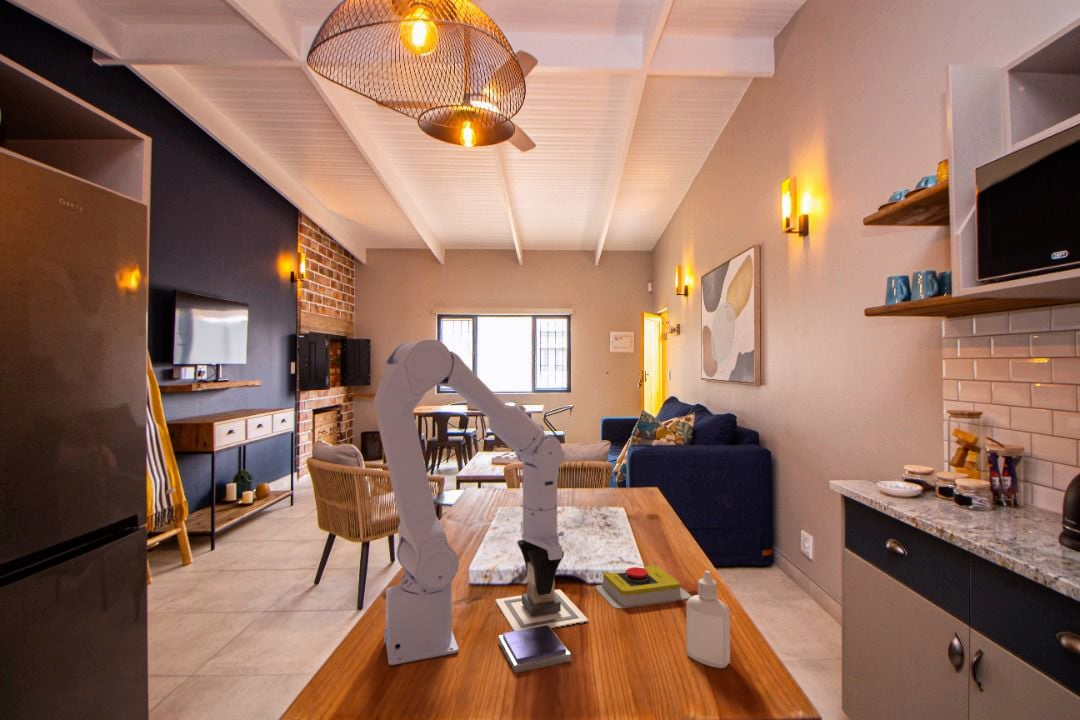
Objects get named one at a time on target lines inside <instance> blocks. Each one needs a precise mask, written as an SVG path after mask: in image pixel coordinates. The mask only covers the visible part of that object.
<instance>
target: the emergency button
mask: <svg viewBox="0 0 1080 720" xmlns="http://www.w3.org/2000/svg"><path fill="white" fill-rule="evenodd" d="M639 567H640V566H637V567H636V566H633V567H629V569H628V568H626V569H627V570H626V573H608V572H605V571H604V572H603V574H602V583H601V584H599V585H596V586H595V587H596V588H595V590H596V589H597V590H596V591H597V592H598V593H599V594H600V595H601V596H602V597H603V599H604V600H606V602H607V603H608V604H609V605H610V606H611V608H613V607H614V609H616V610H619V609H621V610H622V609H628V608H629V609H630V608H635V607H642V606H647V605H649V606H650V605H655V604H663V603H669V602H670V603H671V602H676V601H677V602H678V601H683V600H684V601H685V600H688V599H689V598H690V597H692V595H691V594H690V593H689V592H687V591H686V590H685V589H683V588H682V587H681V584H680V582H679V580H677V579H676V578H674V577H673V576H672V575H671V574H669V573H668V572H666V571H665V570H663V569H662V568H661V567H659V566H658V565H644V566H643V567H644V568H639Z"/></svg>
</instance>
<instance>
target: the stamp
mask: <svg viewBox="0 0 1080 720" xmlns="http://www.w3.org/2000/svg"><path fill="white" fill-rule="evenodd" d="M526 574H527V575H526V577H527V581H526V582H527V583H526V585H527V588H526V589H527V592H526V593H521V595H522V604H523V605H524V607H525V608H526V609H527V611H528V612H529V614H530V615H531V616H537V615H542V614H548V613H554V612H560V611H561V602H560V601H559V600H558V598H557V597H556V596H555V590H556V588H555V586H556V585H555V583H556V581H555V580H556V579H555V577H556V576H555V577H554V581H553V586H552V590H551V593H550V594H544V595H538V593H537V589H536V583H535V575H534V569H533V565H532V562H527V570H526Z"/></svg>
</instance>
